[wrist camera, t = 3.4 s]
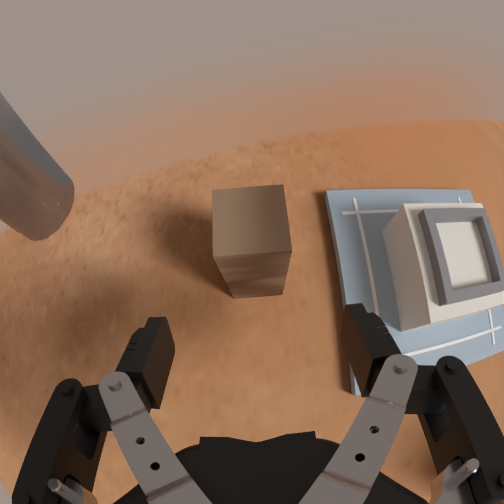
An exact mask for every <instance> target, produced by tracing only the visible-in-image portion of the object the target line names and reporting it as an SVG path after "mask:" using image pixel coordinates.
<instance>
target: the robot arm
mask: <svg viewBox="0 0 504 504" xmlns="http://www.w3.org/2000/svg"><path fill="white" fill-rule="evenodd" d="M73 198H74V185H73V182H72V180H71V179H70V178H69V176H68V175H67V174H66V173H65V172H64V171H63V170H62V168H61V167H60V166H59V165H58V164H57V163H56V162H55V160H54V159H53V158H52V157H51V156H50V154H49V153H48V152H47V151H46V150H45V149H44V147H43V146H42V145H41V144H40V142H39V141H38V140H37V139H36V138H35V137H34V135H33V134H32V133H31V131H30V130H29V129H28V128H27V126H26V125H25V124H24V123H23V121H22V120H21V119H20V117H19V116H18V115H17V114H16V112H15V111H14V110H13V108H12V107H11V106H10V104H9V103H8V102H7V101H6V99H5V98H4V96H3V95H2V94H1V92H0V220H2V221H3V222H4V223H6V224H7V225H9V226H10V227H11V228H13V229H14V230H16V231H17V232H19V233H21V234H23V235H24V236H26V237H27V238H29V239H30V240H41V239H43V238H46V237H47V236H49V235H50V234H52V233H53V232H54V231H55V230H56V229H57V228H58V227H59V226H60V225H61V223H62V222H63V221H64V219H65V217H66V216H67V214H68V212H69V210H70V208H71V205H72V202H73ZM341 336H342V343H343V346H344V349H345V351H346V354H347V357H348V360H349V362H350V365H351V368H352V370H353V373H354V376H355V379H356V382H357V384H358V387H359V390H360V393H361V396H362V397H367V398H366V399H365V401H364V403H363V405H362V407H361V409H360V411H359V413H358V415H357V416H356V418H355V420H354V422H353V424H352V425H351V427H350V429H349V431H348V432H347V434H346V436H345V438H344V439H343V441H342V443H341V444H338V443H336V442H333V441H329V440H325V439H319V438H316V436H315V431H311V432H303V433H294V434H286V435H282V436H279V437H276V438H272V439H269V440H265V441H261V442H251V441H245V440H240V439H234V438H230V437H200V442H199V444H197V445H193V446H190V447H187V448H185V449H182V450H181V451H179V452H177V453H176V454H174V453H173V451H172V450H171V448H170V447H169V445H168V444H167V442H166V440H165V439H164V437H163V436H162V434H161V433H160V431H159V429H158V428H157V426H156V424H155V423H154V421H153V420H152V418H151V416H150V414H149V413H150V410H151V408H153V409H160V406H161V402H162V398H163V395H164V391H165V387H166V383H167V380H168V376H169V372H170V369H171V365H172V362H173V358H174V354H175V345H174V341H173V338H172V334H171V331H170V327H169V324H168V321H167V318H166V317H149V318H148V320H147V323H146V325H145V327H144V328H139V329H138V330H137V331H136V332H135V333H134V334H133V335H132V336H131V339H130V341H129V344H128V345H127V347H126V350H125V351H124V353H123V355H122V358H121V360H120V362H119V364H118V366H117V368H116V371H115V372H112V373H109V374H107V375H106V376H104V377H103V378H102V379H101V381H100V383H99V384H98V385H92V386H85V387H83V386H82V385H81V383H80V382H79V381H78V380H77V379H66V380H64V381H62V382H60V383H59V384H58V385H57V386H56V388H55V390H54V392H53V394H52V396H51V398H50V400H49V403H48V405H47V407H46V409H45V411H44V413H43V416H42V418H41V420H40V422H39V425H38V427H37V429H36V432H35V434H34V436H33V439H32V441H31V444H30V446H29V449H28V451H27V454H26V456H25V459H24V462H23V464H22V467H21V470H20V473H19V476H18V479H17V482H16V485H15V488H14V491H13V494H12V504H98V502H97V499H96V498H95V496H94V495H93V494H92V490H93V486H94V481H95V477H96V473H97V469H98V465H99V461H100V457H101V453H102V449H103V445H104V442H105V438H106V435H107V431H113V433H114V435H115V437H116V439H117V441H118V444H119V446H120V448H121V450H122V452H123V454H124V456H125V458H126V460H127V462H128V464H129V466H130V468H131V470H132V472H133V474H134V476H135V477H136V479H137V481H138V483H139V484H138V485H137V486H135V487H134V488H133V489H131V490H130V491H129V492H128V493H126V494H125V495H124V496H122V497H121V498H120V499H118V500H117V501H116V502H114V503H113V504H499V503H501V502H502V501H504V436H503V434H502V432H501V430H500V428H499V426H498V424H497V422H496V420H495V418H494V416H493V414H492V412H491V410H490V408H489V406H488V404H487V402H486V400H485V399H484V397H483V395H482V393H481V391H480V390H479V388H478V386H477V384H476V383H475V381H474V379H473V377H472V376H471V374H470V372H469V371H468V369H467V367H466V366H465V364H464V363H463V361H462V360H460V359H459V358H457V357H455V356H443V357H441V358H440V359H439V360H438V361H437V363H436V365H417V363H416V362H415V360H414V359H413V358H411V357H409V356H407V355H403V354H402V353H401V351H400V349H399V348H398V346H397V344H396V342H395V341H394V339H393V337H392V335H391V334H390V333H389V330H388V329H387V327H386V325H385V324H384V322H383V320H382V319H381V318H380V317H379V316H378V315H376V314H375V313H374V312H371V313H368V312H367V311H366V309H365V307H364V305H363V304H362V303H355V304H347V305H345V307H344V315H343V324H342V332H341ZM404 414H417V415H418V417H419V420H420V423H421V426H422V428H423V431H424V434H425V437H426V440H427V443H428V446H429V449H430V452H431V455H432V458H433V461H434V464H435V467H436V470H437V474H438V476H437V477H436V478H435V479H434V481H433V483H432V485H431V500H430V502H429V503H428V502H427V501H426V500H424V499H423V498H422V497H420V496H418V495H416V494H415V493H413V492H411V491H410V490H408V489H407V488H405V487H403V486H402V485H400V484H399V483H397V482H395V481H394V480H392V479H391V478H389V477H388V476H386V475H385V474H383V473H382V472H380V469H381V467H382V465H383V463H384V461H385V459H386V457H387V455H388V452H389V450H390V448H391V446H392V443H393V441H394V439H395V436H396V434H397V432H398V429H399V427H400V424H401V421H402V419H403V416H404ZM76 425H77V426H76ZM75 428H76V429H75ZM74 431H75V432H74Z"/></svg>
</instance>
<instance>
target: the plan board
mask: <svg viewBox="0 0 504 504" xmlns="http://www.w3.org/2000/svg"><path fill="white" fill-rule="evenodd" d="M324 199H325V203H326V208H327V213H328V218H329V224H330V229H331V234H332V240H333V245H334V251H335V257H336V263H337V269H338V276H339V282H340V289H341V296H342V304H343V312H344V307H345V305H347V304H355V303H362V304H363V305H364V307H365V309H366V311H367V312H368V313H371V312H374V313H375V314H376V315H378V316H379V317H380V318H381V319H382V320H383V322H384V324H385V325H386V327H387V329H388V330H389V333H390V334H391V335H392V337H393V339H394V341H395V342H396V344H397V346H398V348H399V349H400V351H401V353H402V354H403V355H407V356H409V357H411V358H413V359H414V360H415V362H416V363H417V365H436V363H437V361H438V360H439V359H440V358H441V357H443V356H455V357H457V358H459V359H460V360H462V361H463V363H464V364H465V366H466V365H469V364H472V363H474V362H477V361H479V360H482V359H484V358H487V357H489V356H492V355H494V354H496V353H499V352H501V351H503V350H504V307H503V304H504V269H503V265H502V262H501V258H500V254H499V251H498V247H497V244H496V240H495V237H494V234H493V231H492V228H491V225H490V222H489V219H488V216H487V213H486V211H485V208H483V206H482V203H475V202H474V200H473V197H472V194H471V192H470V190H451V189H356V190H327V191H326V193H325V196H324ZM349 368H350V381H351V394H352V395H355V396H357V395H361V393H360V390H359V387H358V384H357V382H356V379H355V376H354V373H353V370H352V368H351V365H350V362H349Z"/></svg>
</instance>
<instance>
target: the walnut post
mask: <svg viewBox="0 0 504 504" xmlns="http://www.w3.org/2000/svg"><path fill="white" fill-rule="evenodd" d="M212 224H213V258H214V260H215V262H216V264H217V266H218V268H219V270H220V272H221V274H222V276H223V278H224V280H225V282H226V284H227V286H228V288H229V290H230V292H231V294H232V296H233V298H247V297H261V296H274V295H282V293H283V289H284V284H285V280H286V276H287V271H288V266H289V262H290V257H291V253H292V247H291V239H290V231H289V223H288V216H287V208H286V201H285V194H284V187H283V185H269V186H255V187H243V188H231V189H221V190H212Z"/></svg>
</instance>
